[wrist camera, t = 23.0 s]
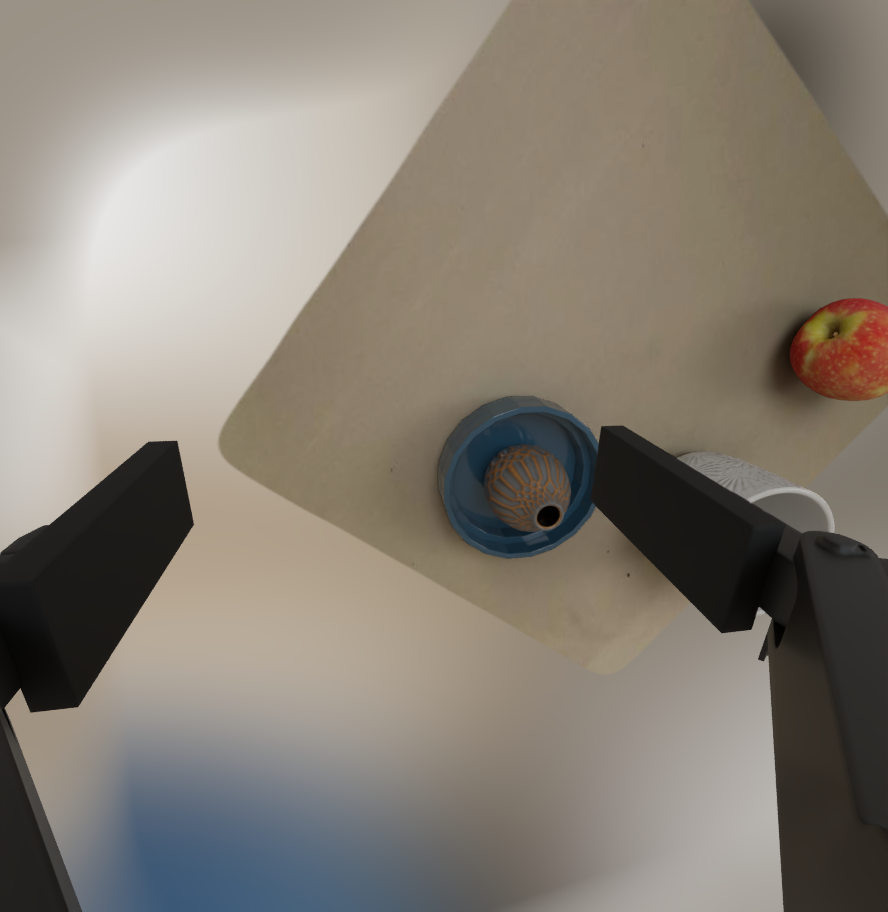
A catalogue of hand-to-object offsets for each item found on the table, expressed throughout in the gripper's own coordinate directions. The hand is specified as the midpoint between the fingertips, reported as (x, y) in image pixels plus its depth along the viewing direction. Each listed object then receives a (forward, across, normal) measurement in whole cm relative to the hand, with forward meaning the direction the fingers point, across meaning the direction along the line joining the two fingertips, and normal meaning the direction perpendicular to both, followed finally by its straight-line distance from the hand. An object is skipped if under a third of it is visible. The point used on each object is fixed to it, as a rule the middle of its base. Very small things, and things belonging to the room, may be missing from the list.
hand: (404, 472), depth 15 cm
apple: (+25, +40, 0) cm, 47 cm away
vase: (+24, +12, -11) cm, 29 cm away
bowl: (+25, +12, -11) cm, 30 cm away
